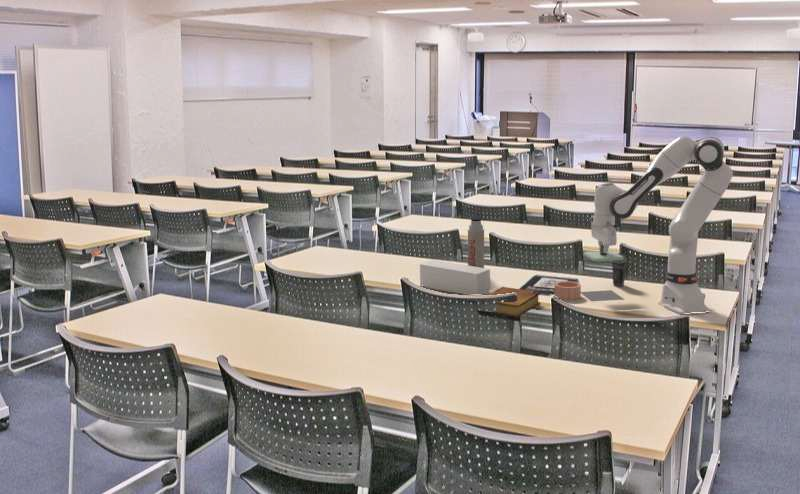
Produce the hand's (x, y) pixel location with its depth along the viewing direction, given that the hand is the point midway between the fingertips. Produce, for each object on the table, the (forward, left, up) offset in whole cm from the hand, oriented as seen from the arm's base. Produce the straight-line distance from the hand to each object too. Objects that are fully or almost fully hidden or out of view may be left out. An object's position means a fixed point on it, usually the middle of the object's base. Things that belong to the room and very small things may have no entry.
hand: (603, 251), depth 358 cm
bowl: (+2, +15, -21) cm, 26 cm away
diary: (-7, +44, -21) cm, 49 cm away
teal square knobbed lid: (0, 0, -3) cm, 3 cm away
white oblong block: (+27, +61, -21) cm, 70 cm away
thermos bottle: (+51, +45, -21) cm, 71 cm away
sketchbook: (+22, +17, -21) cm, 35 cm away
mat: (0, 0, -21) cm, 21 cm away
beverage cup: (+15, -14, -21) cm, 29 cm away
